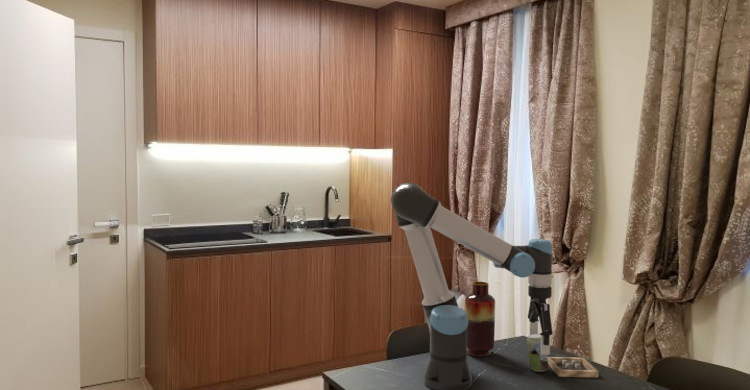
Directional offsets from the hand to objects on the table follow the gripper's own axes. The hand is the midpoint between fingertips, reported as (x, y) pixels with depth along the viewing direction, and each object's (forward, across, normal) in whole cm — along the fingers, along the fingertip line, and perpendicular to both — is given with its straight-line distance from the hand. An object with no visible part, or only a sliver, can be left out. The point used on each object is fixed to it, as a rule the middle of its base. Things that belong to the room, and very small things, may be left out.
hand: (539, 347), depth 182 cm
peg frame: (+8, +1, -11) cm, 14 cm away
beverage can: (+8, 0, +1) cm, 8 cm away
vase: (+8, +16, +18) cm, 25 cm away
